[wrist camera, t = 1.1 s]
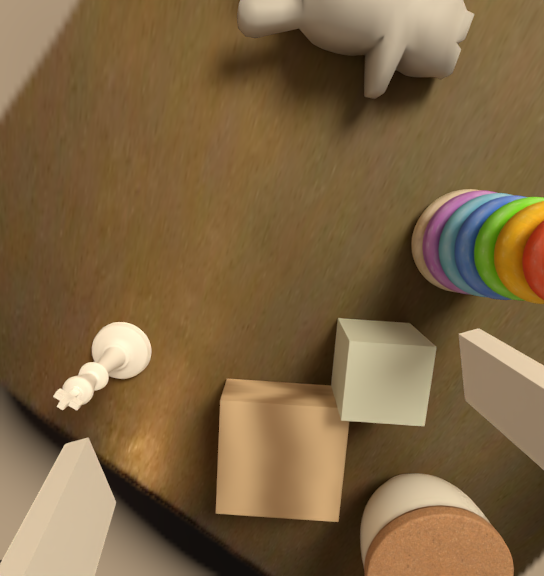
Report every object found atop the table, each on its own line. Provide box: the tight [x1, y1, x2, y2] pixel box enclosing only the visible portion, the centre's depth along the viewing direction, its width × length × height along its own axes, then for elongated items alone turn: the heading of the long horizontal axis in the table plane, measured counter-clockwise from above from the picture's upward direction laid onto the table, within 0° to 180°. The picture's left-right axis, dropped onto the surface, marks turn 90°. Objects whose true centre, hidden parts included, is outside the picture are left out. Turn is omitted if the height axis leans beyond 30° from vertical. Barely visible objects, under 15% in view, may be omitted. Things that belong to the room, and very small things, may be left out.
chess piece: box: [53, 322, 151, 410], centre depth 30 cm, size 5×5×10 cm
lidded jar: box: [360, 473, 514, 576], centre depth 33 cm, size 11×11×9 cm
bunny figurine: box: [237, 0, 474, 99], centre depth 27 cm, size 10×5×15 cm
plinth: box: [216, 379, 349, 522], centre depth 34 cm, size 10×10×4 cm
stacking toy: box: [411, 189, 544, 304], centre depth 23 cm, size 8×8×19 cm
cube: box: [331, 318, 436, 426], centre depth 32 cm, size 6×6×6 cm
